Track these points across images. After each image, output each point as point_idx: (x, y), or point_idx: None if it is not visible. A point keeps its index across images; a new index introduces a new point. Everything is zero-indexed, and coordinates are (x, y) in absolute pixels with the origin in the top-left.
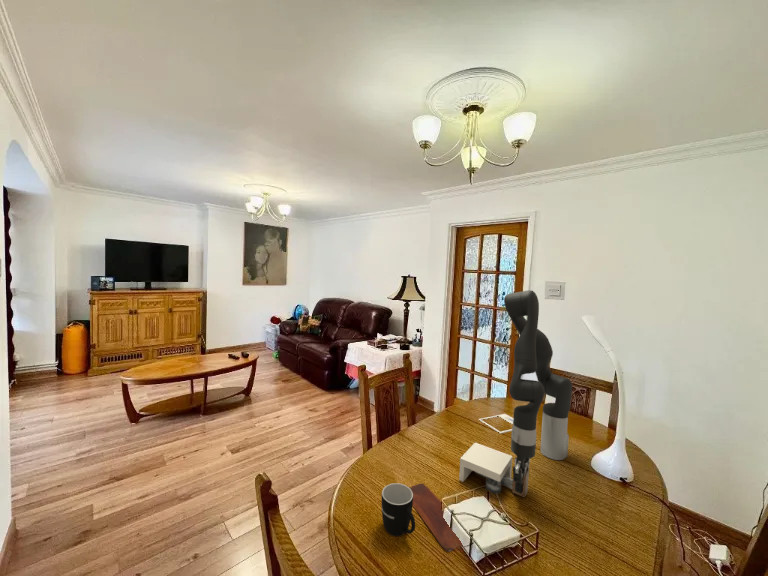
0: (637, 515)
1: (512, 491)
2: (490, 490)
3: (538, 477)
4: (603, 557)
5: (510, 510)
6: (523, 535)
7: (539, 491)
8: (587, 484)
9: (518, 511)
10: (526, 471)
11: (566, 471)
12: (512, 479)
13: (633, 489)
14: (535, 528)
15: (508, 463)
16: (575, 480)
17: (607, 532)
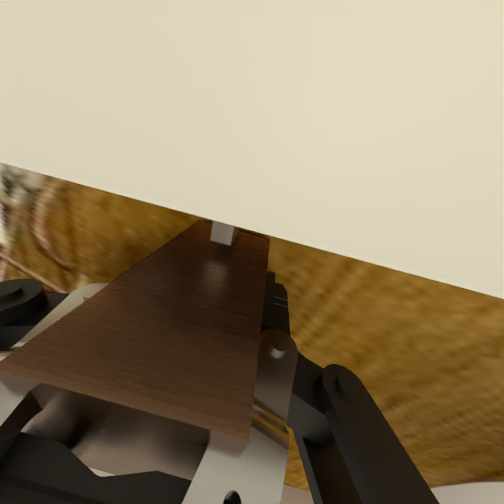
0: (289, 470)
1: (195, 223)
2: None
3: (417, 343)
4: None
5: (83, 209)
6: (5, 253)
7: (295, 330)
8: None
9: (106, 243)
10: (120, 471)
11: (485, 431)
12: (225, 241)
13: None
14: (72, 291)
15: (353, 241)
16: (416, 434)
17: None
